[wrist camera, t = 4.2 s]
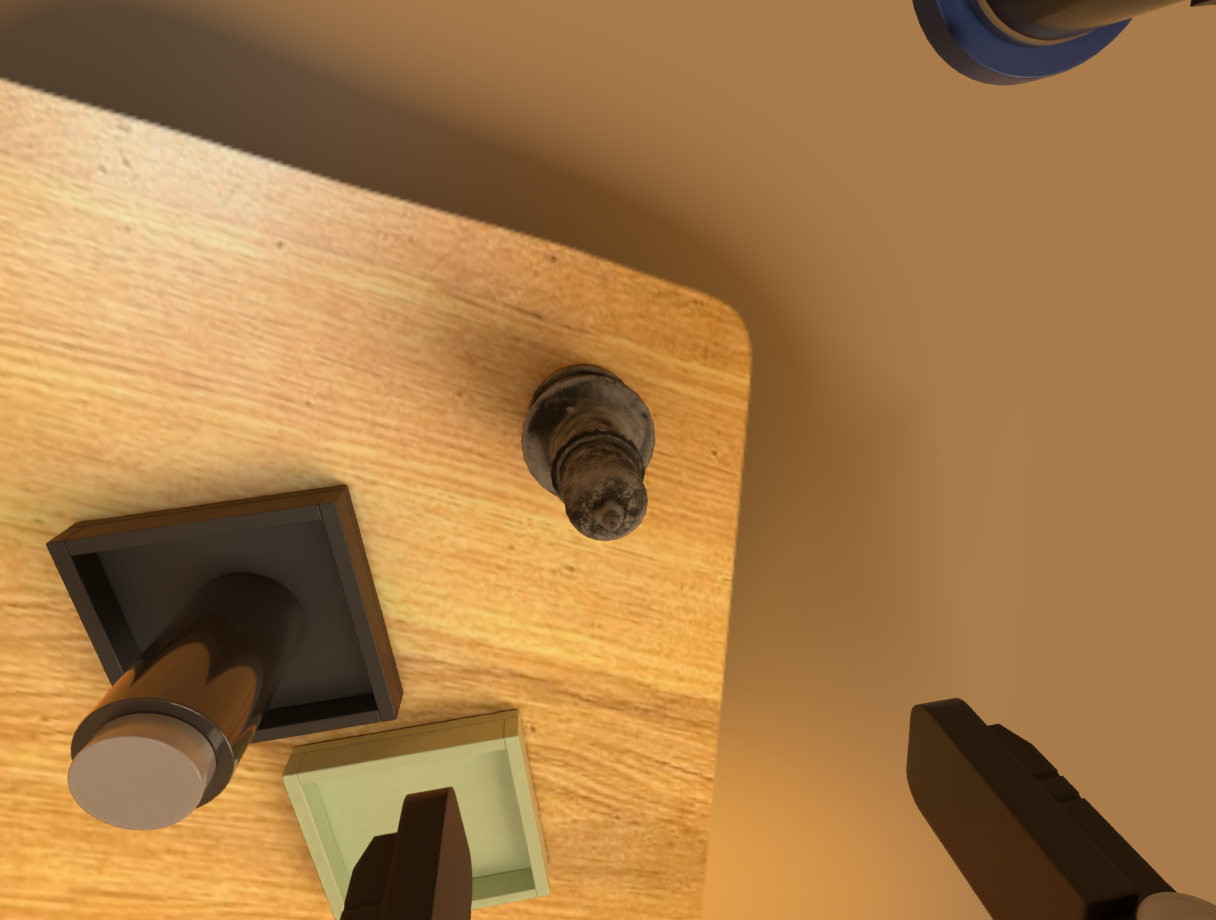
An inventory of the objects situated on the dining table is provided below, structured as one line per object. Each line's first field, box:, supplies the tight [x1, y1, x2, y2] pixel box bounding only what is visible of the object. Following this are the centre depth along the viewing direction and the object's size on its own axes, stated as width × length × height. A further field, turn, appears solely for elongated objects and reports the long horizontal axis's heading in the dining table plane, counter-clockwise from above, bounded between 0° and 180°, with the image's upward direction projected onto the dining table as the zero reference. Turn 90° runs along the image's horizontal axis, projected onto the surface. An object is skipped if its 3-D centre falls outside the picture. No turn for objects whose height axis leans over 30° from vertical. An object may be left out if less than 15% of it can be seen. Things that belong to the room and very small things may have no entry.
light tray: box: [282, 709, 550, 920], centre depth 38 cm, size 13×13×2 cm
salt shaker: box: [521, 365, 655, 541], centre depth 26 cm, size 6×6×12 cm
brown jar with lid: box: [68, 573, 306, 830], centre depth 28 cm, size 6×6×10 cm
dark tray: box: [46, 485, 403, 744], centre depth 32 cm, size 13×13×2 cm
